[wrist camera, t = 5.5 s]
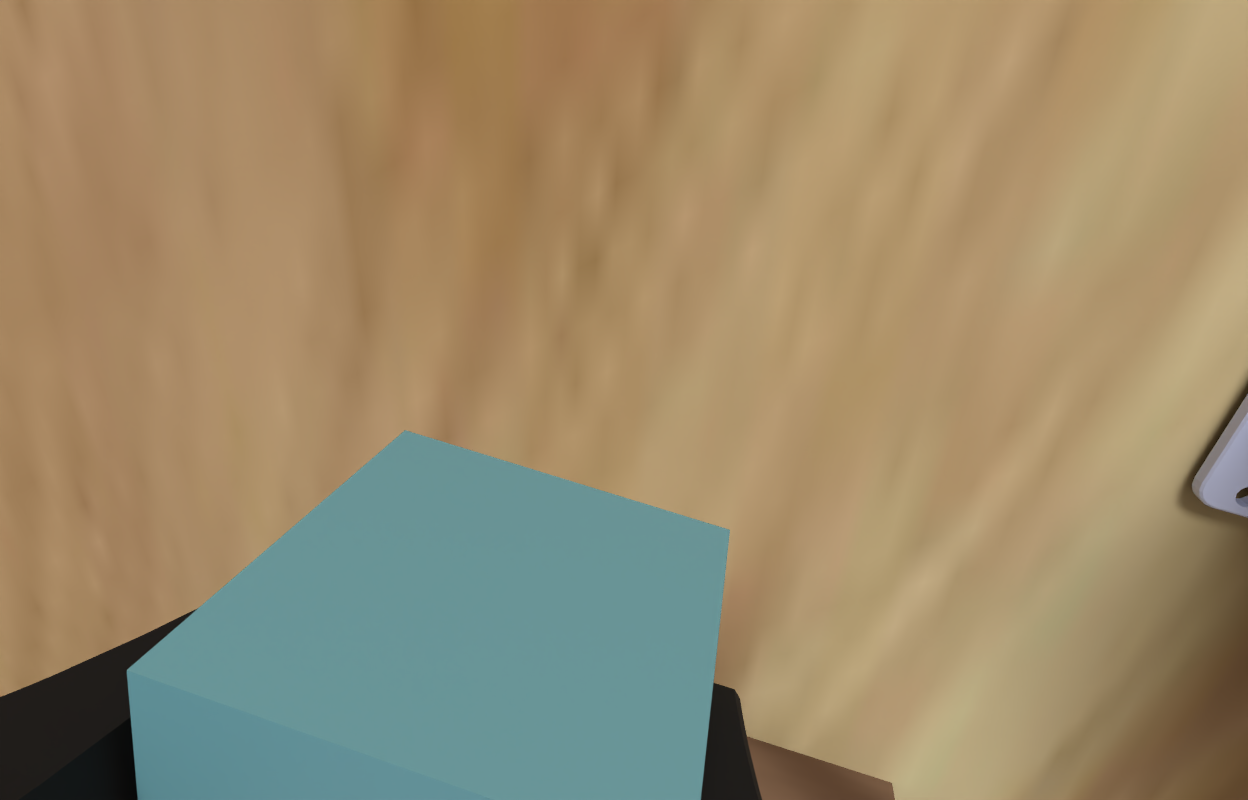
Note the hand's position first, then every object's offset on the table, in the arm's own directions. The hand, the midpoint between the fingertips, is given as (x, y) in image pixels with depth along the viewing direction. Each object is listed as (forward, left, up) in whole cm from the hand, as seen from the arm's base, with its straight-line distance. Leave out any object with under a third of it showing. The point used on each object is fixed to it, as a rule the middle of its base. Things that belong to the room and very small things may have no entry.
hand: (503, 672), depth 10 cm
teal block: (0, 0, -1) cm, 1 cm away
